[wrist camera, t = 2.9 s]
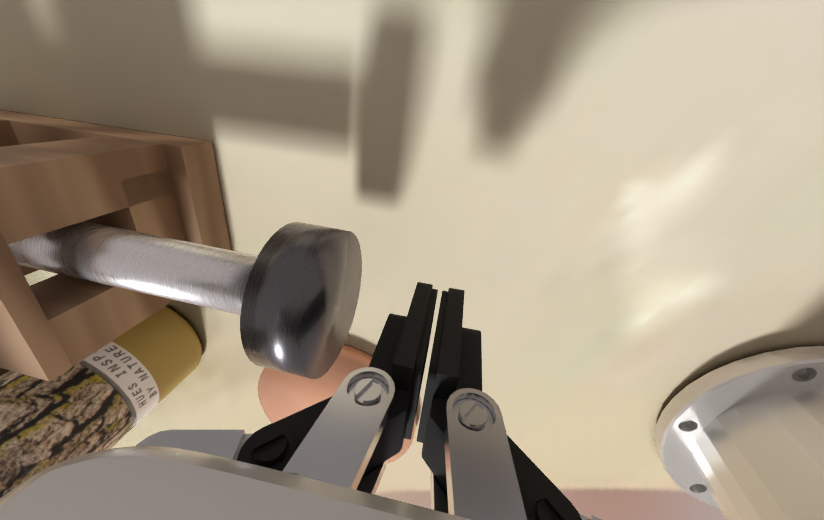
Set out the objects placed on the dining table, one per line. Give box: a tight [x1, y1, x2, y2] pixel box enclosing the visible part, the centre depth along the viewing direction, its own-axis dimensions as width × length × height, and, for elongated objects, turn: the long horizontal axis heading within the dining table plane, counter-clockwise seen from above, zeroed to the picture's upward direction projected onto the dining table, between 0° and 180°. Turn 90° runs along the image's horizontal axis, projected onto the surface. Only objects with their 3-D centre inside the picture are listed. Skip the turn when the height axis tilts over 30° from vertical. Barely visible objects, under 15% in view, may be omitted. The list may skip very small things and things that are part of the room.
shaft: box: [8, 221, 362, 379], centre depth 14 cm, size 20×6×6 cm, turn 84°
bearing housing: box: [0, 110, 231, 382], centre depth 16 cm, size 14×8×9 cm, turn 84°
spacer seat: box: [258, 345, 417, 464], centre depth 24 cm, size 12×12×1 cm
